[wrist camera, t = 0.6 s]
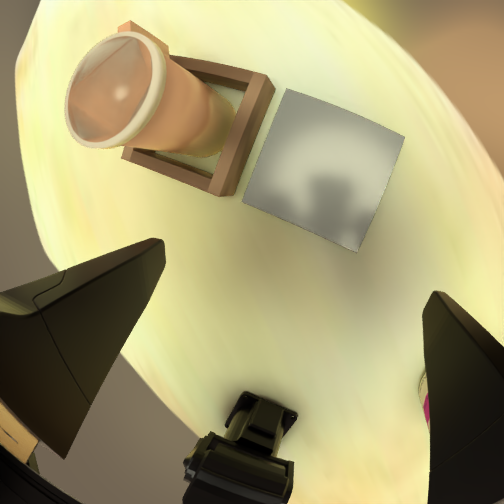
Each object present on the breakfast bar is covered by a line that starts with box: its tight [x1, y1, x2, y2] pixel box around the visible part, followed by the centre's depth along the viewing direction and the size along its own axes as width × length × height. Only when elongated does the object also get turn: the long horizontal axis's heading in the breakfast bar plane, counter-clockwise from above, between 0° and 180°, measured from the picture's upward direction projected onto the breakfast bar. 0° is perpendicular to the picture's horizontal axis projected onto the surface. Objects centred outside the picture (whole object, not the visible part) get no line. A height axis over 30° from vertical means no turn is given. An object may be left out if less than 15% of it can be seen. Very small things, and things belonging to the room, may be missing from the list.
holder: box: [121, 55, 275, 197], centre depth 23 cm, size 10×10×4 cm
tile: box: [242, 88, 405, 253], centre depth 22 cm, size 10×10×1 cm
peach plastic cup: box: [65, 20, 236, 157], centre depth 18 cm, size 9×7×13 cm
